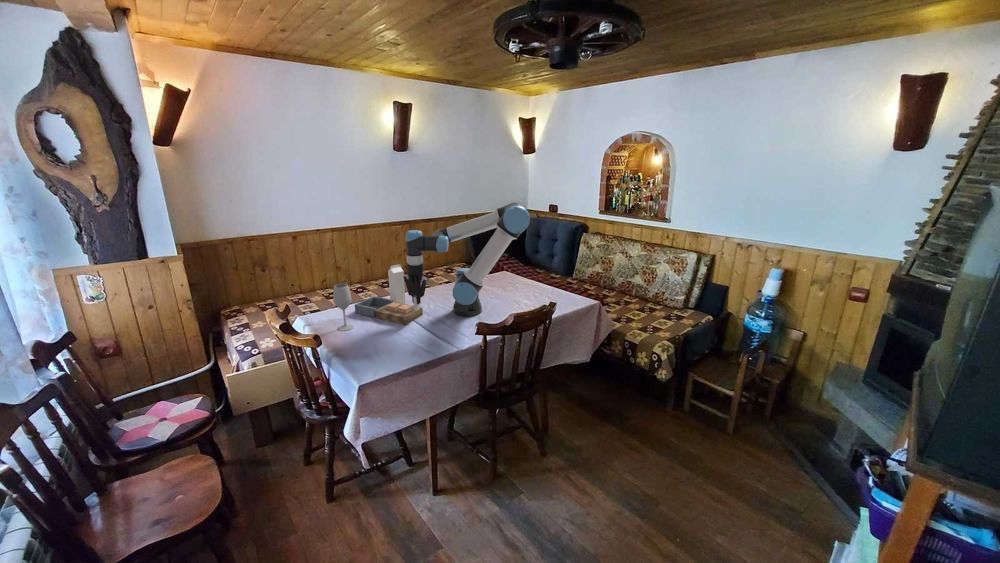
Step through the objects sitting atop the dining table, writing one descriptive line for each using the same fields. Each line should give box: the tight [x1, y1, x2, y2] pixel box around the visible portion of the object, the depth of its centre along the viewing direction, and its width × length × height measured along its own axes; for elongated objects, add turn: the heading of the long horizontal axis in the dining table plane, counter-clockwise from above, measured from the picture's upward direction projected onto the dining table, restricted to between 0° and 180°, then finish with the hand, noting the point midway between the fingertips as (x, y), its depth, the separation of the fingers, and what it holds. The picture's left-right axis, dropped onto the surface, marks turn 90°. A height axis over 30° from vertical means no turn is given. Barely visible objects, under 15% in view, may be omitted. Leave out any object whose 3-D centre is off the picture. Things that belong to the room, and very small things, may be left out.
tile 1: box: [387, 302, 402, 311], centre depth 198 cm, size 5×5×2 cm
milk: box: [387, 264, 406, 304], centre depth 212 cm, size 6×6×22 cm
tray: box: [354, 295, 393, 319], centre depth 204 cm, size 13×14×5 cm
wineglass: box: [332, 283, 355, 332], centre depth 182 cm, size 8×8×21 cm
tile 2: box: [398, 303, 413, 313], centre depth 196 cm, size 5×5×2 cm
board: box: [375, 302, 424, 326], centre depth 198 cm, size 18×14×4 cm
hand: (416, 309), depth 192 cm, fingers closed
